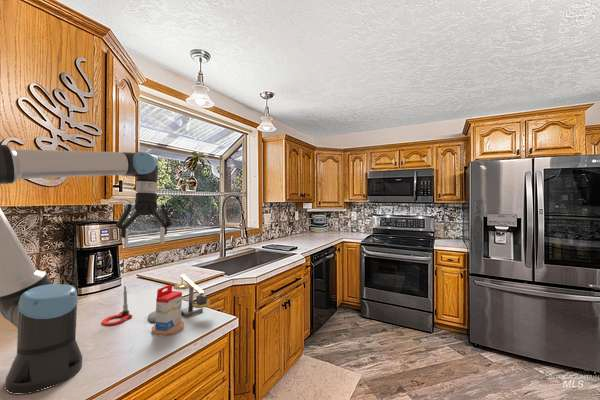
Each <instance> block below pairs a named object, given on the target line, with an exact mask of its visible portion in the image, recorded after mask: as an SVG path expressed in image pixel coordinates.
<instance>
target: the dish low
mask: <svg viewBox="0 0 600 400" xmlns="http://www.w3.org/2000/svg"><path fill="white" fill-rule="evenodd" d="M155 325H156V323H154V325H153V326H152V328H151V333H152V334H153V335H154V336H158V337H166V336H171V335H174V334H175V335H176V334H178V333H180V332H181V331H183V329H185V321H184V320H182V319H181V322H179V323H178V324H176V325H175V326H173V327H171V328H170V329H168V330H167V331H164V330H157V329H155Z"/></svg>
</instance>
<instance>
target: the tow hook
mask: <svg viewBox="0 0 600 400" xmlns="http://www.w3.org/2000/svg"><path fill="white" fill-rule="evenodd" d="M116 318H117V319H118V318H121V319H119V320H116V321H111V322H110V320H112V319H116ZM132 318H133V314H130V310H129V304H128V291H127V286H126V285H124V286H123V304H122V310H121V311H120V312H119V313H118V314H113V315H110V316H108V317H105V318H104V319H103V320H102V321H101V325H102V326H106V327H110V326H116V325H119V324H122V323H124V322H126V321H127V320H128V319H132Z"/></svg>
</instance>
